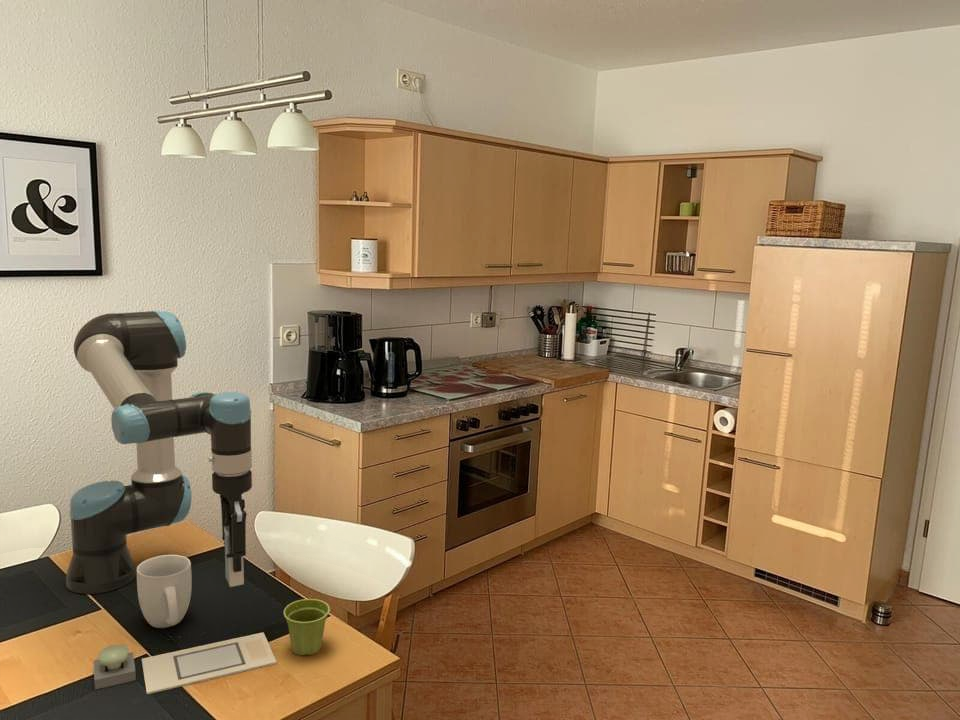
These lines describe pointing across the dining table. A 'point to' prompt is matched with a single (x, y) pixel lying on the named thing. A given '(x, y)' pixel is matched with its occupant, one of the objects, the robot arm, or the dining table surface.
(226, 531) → the square grey prism
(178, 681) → the sheet
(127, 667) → the button housing
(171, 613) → the mug
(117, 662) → the button
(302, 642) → the plant pot
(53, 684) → the dining table surface
